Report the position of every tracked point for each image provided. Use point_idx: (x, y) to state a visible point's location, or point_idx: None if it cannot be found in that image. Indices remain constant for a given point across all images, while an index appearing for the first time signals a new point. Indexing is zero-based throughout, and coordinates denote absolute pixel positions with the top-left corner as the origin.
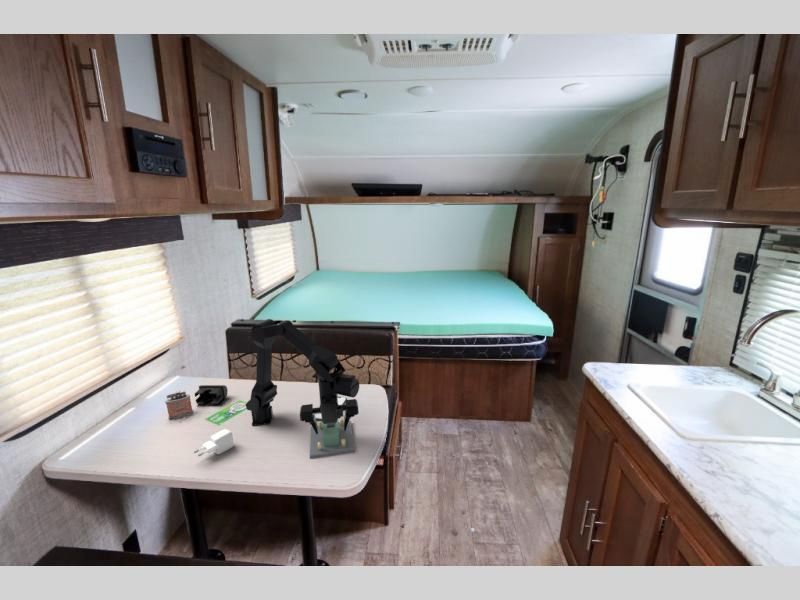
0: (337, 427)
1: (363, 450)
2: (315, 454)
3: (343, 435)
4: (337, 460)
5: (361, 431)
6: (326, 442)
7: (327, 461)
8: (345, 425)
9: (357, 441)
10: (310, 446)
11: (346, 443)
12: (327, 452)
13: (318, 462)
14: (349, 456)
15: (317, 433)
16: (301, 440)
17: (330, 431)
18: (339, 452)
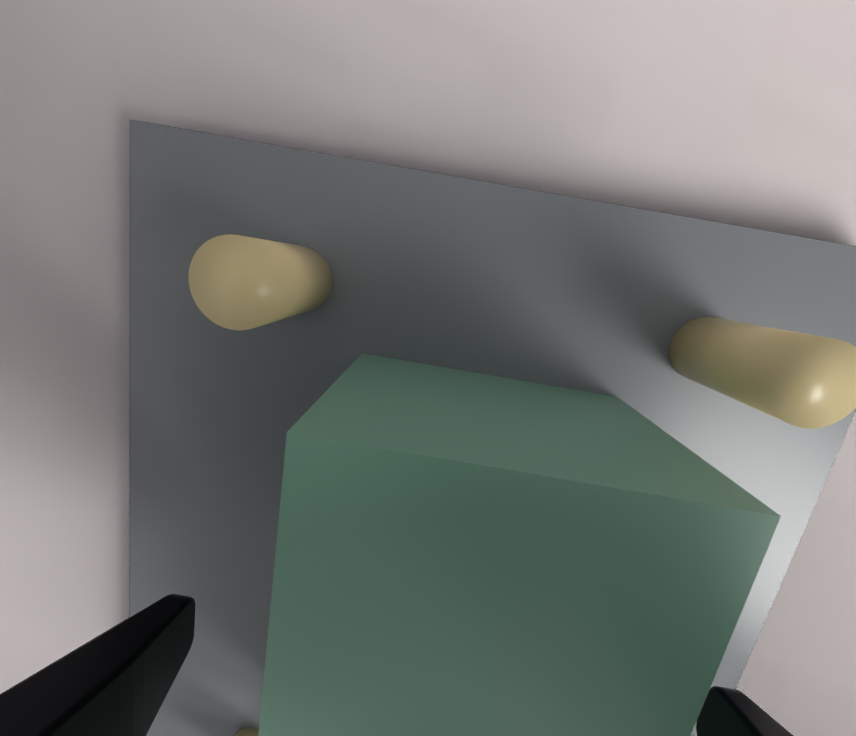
0: (285, 720)
1: (20, 120)
2: (819, 246)
3: (266, 542)
4: (468, 23)
5: (30, 554)
6: (600, 416)
7: (631, 65)
8: (30, 714)
9: (99, 372)
10: (817, 484)
11: (245, 335)
12: (605, 222)
13: (774, 100)
14: (259, 51)
15: (737, 704)
16: (826, 670)
17: (508, 637)
18: (400, 171)
